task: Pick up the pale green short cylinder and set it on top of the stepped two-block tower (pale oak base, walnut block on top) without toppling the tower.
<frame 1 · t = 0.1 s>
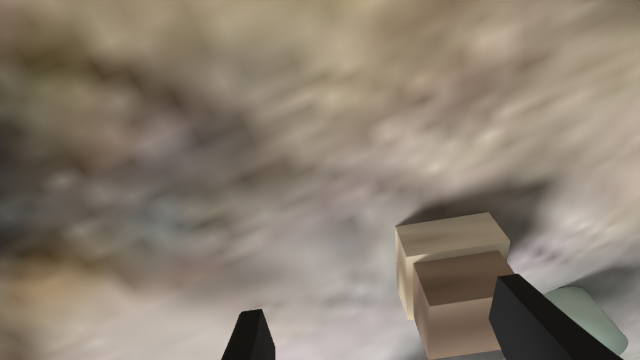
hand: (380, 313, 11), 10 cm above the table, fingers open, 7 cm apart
oak base block: (438, 249, 24), on the table, touching walnut top block
walnut top block: (453, 285, 22), point 3 cm above the table, touching oak base block
pale green short cylinder: (559, 304, 28), on the table
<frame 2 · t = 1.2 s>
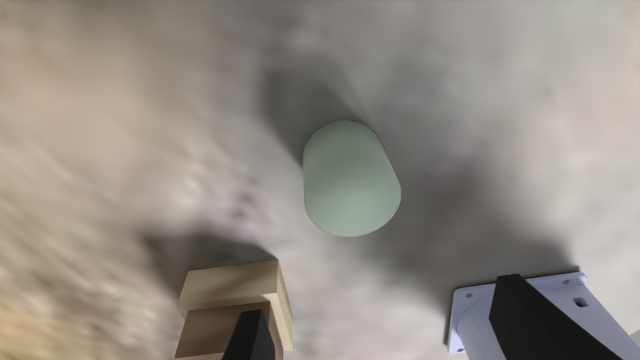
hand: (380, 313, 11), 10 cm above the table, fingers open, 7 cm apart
oak base block: (244, 291, 25), on the table, touching walnut top block
walnut top block: (238, 330, 22), point 3 cm above the table, touching oak base block
pale green short cylinder: (342, 157, 19), on the table
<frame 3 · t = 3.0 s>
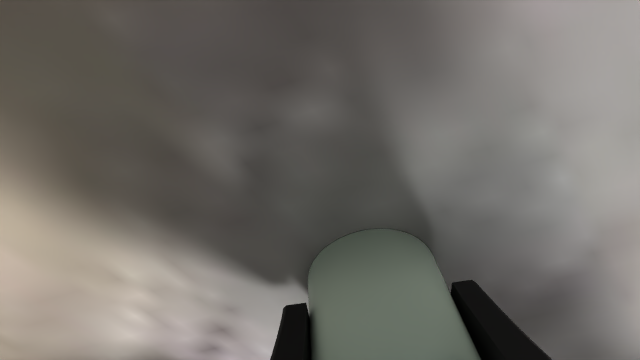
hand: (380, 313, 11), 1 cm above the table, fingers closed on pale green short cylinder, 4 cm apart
pale green short cylinder: (371, 277, 12), on the table, touching gripper
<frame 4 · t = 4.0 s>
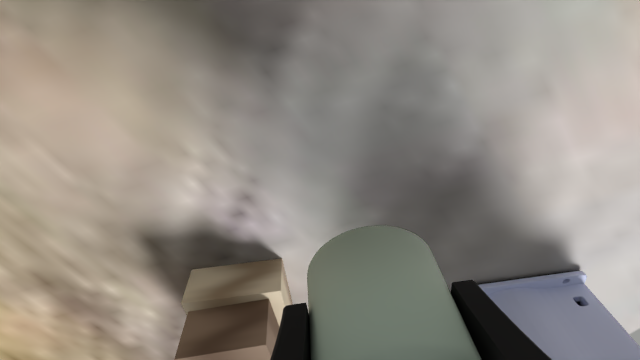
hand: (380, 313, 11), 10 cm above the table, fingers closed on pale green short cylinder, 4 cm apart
oak base block: (247, 290, 25), on the table, touching walnut top block
walnut top block: (240, 329, 23), point 3 cm above the table, touching oak base block
pale green short cylinder: (370, 274, 12), point 8 cm above the table, touching gripper
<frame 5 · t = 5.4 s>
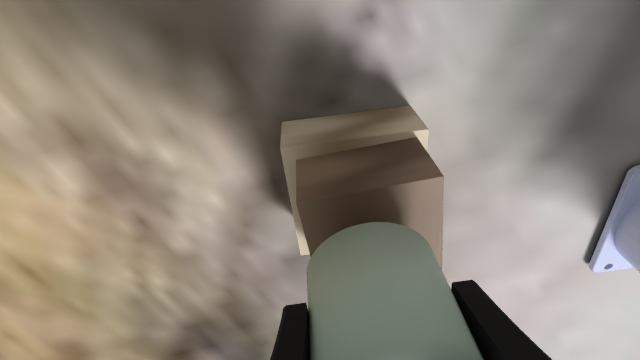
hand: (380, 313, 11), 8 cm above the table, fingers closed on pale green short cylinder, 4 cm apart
oak base block: (349, 165, 18), on the table
walnut top block: (362, 197, 16), point 3 cm above the table
pale green short cylinder: (370, 271, 12), point 7 cm above the table, touching gripper
when the fingers open (8 cm above the table, at t = 6.0 s): pale green short cylinder drops 1 cm, resting on walnut top block.
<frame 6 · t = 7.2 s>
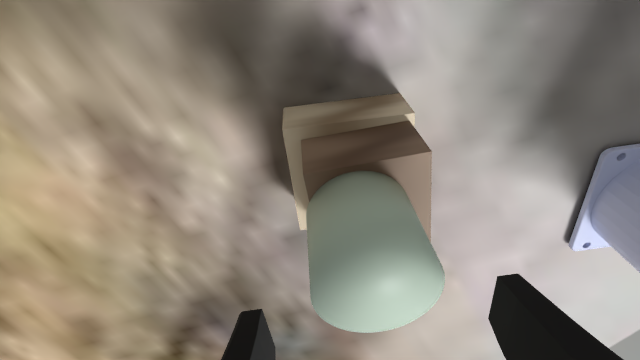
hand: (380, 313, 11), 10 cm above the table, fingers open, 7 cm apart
oak base block: (344, 148, 20), on the table, touching walnut top block
walnut top block: (360, 175, 17), point 3 cm above the table, touching oak base block, pale green short cylinder
pale green short cylinder: (358, 215, 15), point 6 cm above the table, touching walnut top block
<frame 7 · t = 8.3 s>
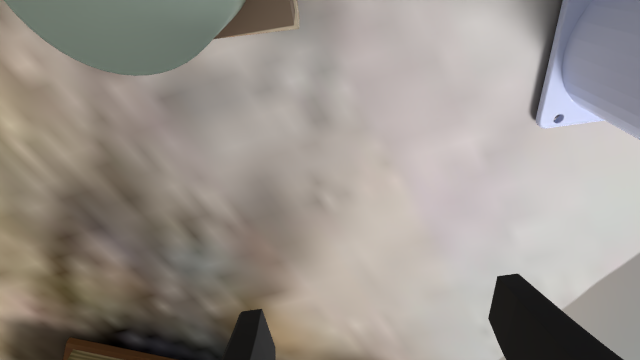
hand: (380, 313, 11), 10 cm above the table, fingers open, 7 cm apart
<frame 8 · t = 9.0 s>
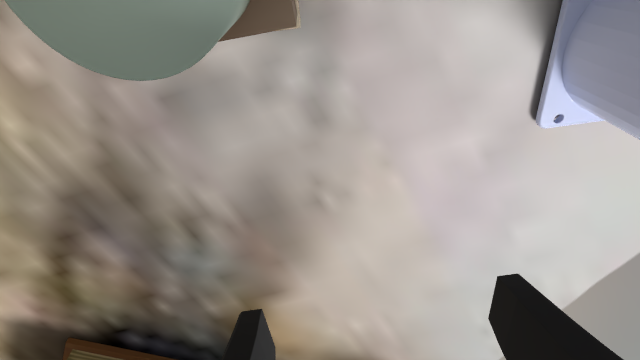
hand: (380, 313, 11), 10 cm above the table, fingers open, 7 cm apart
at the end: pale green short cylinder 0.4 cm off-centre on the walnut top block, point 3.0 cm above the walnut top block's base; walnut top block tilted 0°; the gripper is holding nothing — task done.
